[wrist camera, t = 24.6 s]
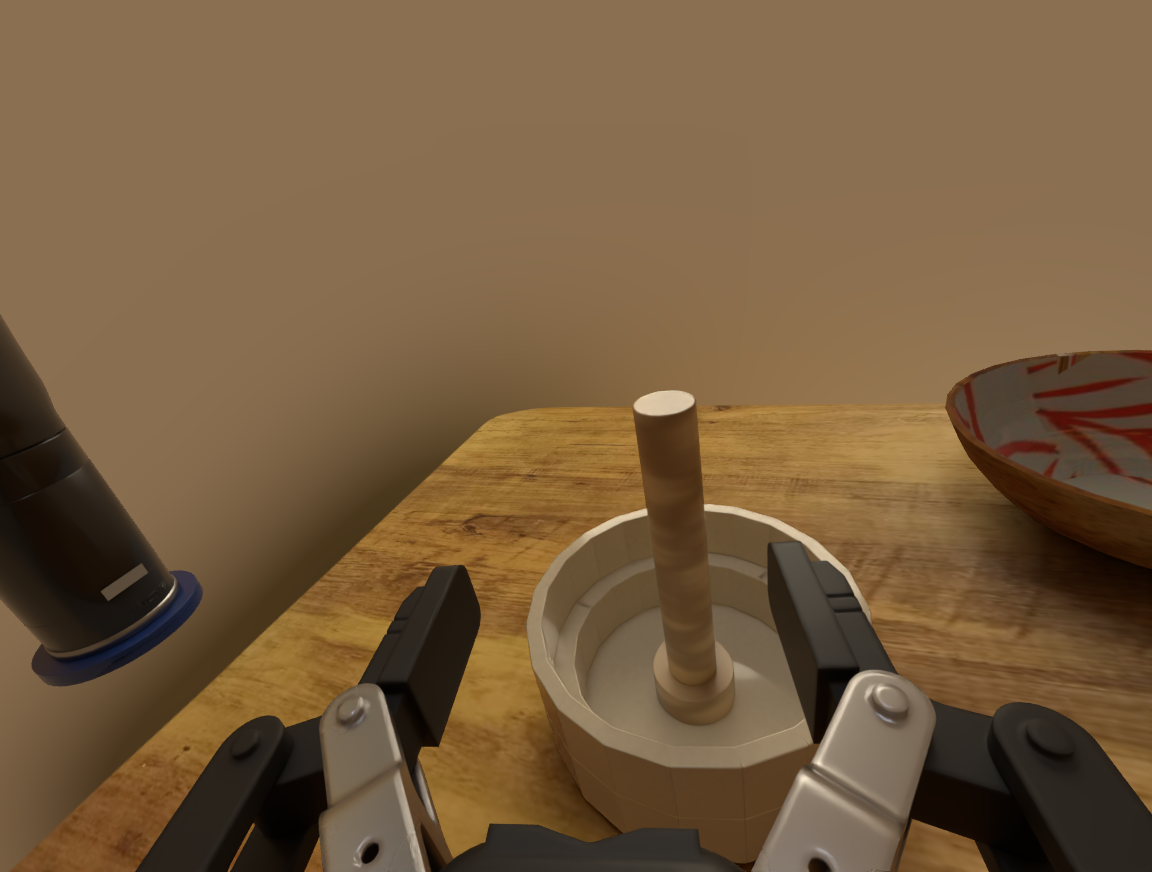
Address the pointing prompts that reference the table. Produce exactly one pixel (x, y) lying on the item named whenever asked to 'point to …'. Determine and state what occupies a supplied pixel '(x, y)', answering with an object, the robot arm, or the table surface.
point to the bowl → (1067, 443)
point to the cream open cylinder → (628, 693)
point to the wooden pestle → (681, 561)
